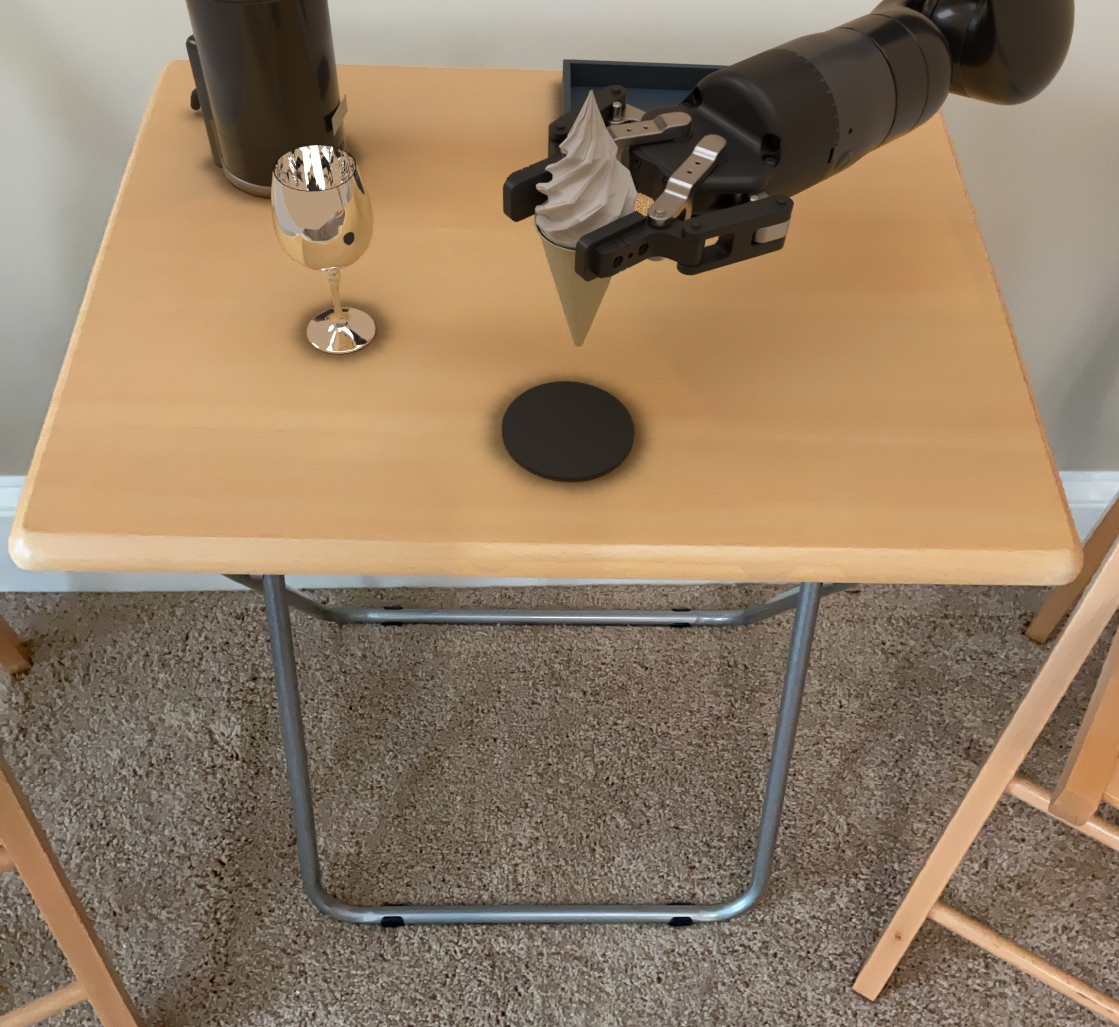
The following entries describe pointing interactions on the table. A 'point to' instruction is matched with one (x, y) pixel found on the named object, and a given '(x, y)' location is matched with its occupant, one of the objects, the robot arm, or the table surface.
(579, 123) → the ice cream cone
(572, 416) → the coaster
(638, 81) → the tray
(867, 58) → the robot arm
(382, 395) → the table surface
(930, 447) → the table surface
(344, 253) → the wineglass
